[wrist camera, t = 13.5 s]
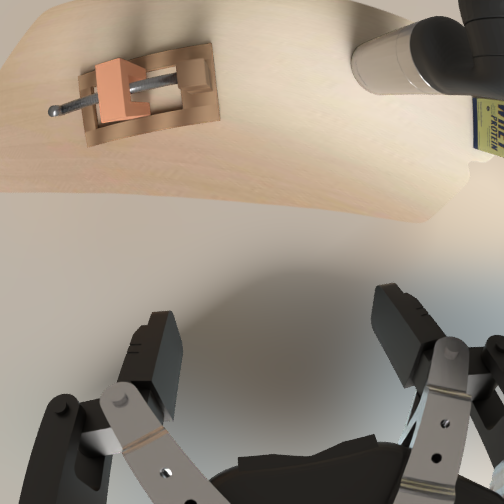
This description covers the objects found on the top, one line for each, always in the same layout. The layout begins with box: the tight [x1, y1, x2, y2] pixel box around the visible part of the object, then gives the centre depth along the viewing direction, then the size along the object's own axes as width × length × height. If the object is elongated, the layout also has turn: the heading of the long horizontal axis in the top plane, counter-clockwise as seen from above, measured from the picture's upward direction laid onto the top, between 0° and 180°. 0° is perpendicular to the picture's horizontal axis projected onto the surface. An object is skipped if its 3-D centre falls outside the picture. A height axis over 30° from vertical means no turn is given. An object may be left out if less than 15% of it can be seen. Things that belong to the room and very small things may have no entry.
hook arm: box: [48, 72, 178, 117], centre depth 28 cm, size 17×1×3 cm, turn 96°
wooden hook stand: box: [78, 43, 220, 148], centre depth 33 cm, size 21×12×12 cm, turn 96°
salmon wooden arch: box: [95, 58, 151, 123], centre depth 31 cm, size 7×3×10 cm, turn 5°
